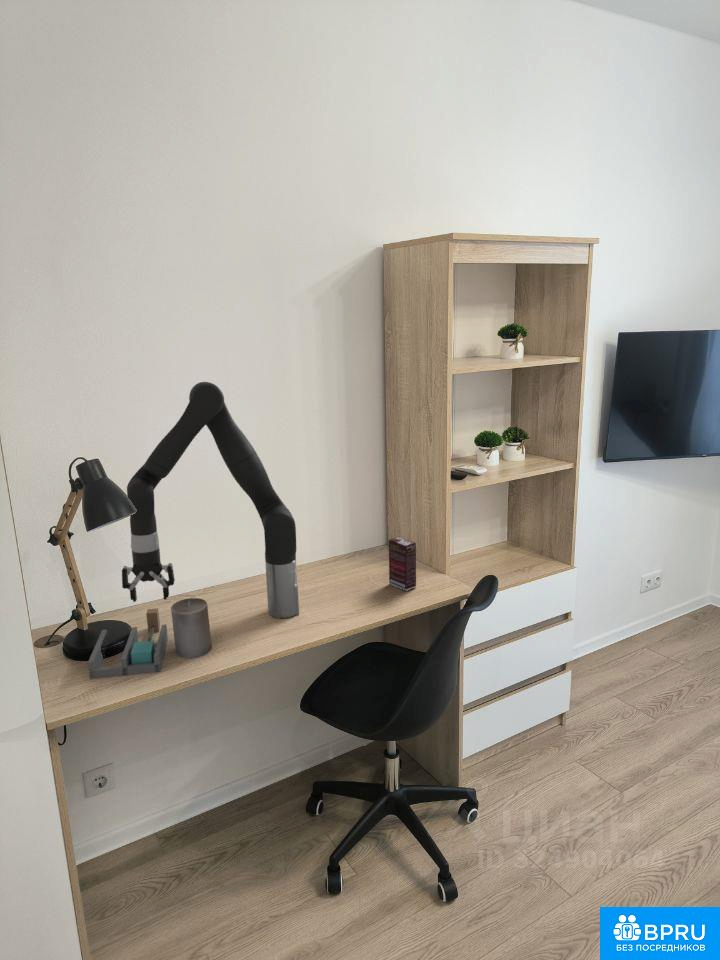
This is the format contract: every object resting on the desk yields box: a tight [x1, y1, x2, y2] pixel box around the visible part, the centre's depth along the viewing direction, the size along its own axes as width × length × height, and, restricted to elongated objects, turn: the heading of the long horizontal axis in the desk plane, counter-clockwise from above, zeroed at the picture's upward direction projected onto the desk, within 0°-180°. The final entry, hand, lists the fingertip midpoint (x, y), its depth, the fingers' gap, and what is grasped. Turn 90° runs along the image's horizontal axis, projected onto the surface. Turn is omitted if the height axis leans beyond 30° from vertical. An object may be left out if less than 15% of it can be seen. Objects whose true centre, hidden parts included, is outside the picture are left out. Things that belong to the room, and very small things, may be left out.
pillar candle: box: [170, 597, 213, 659], centre depth 189 cm, size 10×10×15 cm
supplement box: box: [388, 536, 417, 592], centre depth 229 cm, size 9×5×16 cm, turn 40°
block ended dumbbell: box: [131, 608, 161, 665], centre depth 192 cm, size 5×24×6 cm, turn 9°
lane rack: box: [87, 624, 169, 680], centre depth 187 cm, size 17×18×5 cm
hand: (150, 599), depth 201 cm, fingers open, 8 cm apart
